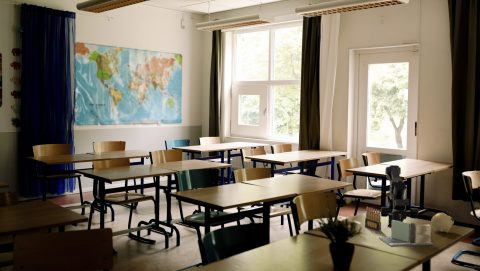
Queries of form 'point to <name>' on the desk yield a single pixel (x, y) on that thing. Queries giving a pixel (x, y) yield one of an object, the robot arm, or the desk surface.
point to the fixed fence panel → (420, 233)
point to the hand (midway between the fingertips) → (400, 226)
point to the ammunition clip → (373, 219)
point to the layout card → (399, 242)
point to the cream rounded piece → (442, 222)
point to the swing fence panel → (400, 230)
